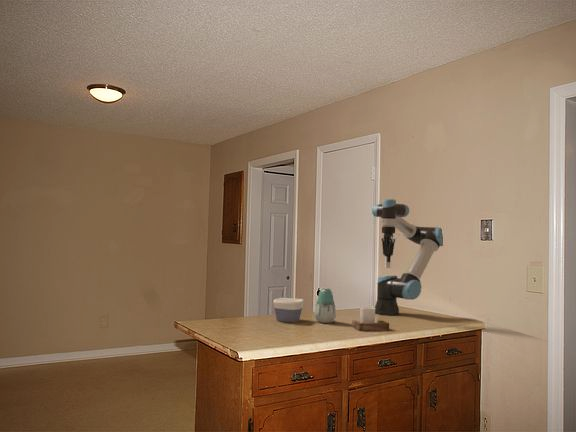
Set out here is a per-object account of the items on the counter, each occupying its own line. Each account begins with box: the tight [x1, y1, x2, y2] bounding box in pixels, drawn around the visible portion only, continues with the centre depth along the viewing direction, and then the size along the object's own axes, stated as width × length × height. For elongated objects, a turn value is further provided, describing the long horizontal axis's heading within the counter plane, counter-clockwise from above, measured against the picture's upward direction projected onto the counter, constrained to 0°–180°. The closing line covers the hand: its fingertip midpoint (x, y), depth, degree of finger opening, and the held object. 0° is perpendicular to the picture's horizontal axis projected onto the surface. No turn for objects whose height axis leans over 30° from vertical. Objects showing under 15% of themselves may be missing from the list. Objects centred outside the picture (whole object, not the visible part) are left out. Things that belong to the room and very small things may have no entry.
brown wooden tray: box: [351, 319, 390, 332], centre depth 249 cm, size 10×16×4 cm, turn 105°
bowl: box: [272, 297, 305, 323], centre depth 264 cm, size 15×15×11 cm
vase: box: [314, 288, 337, 324], centre depth 263 cm, size 12×12×18 cm
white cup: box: [359, 306, 376, 323], centre depth 252 cm, size 8×8×10 cm
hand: (387, 267), depth 277 cm, fingers closed
